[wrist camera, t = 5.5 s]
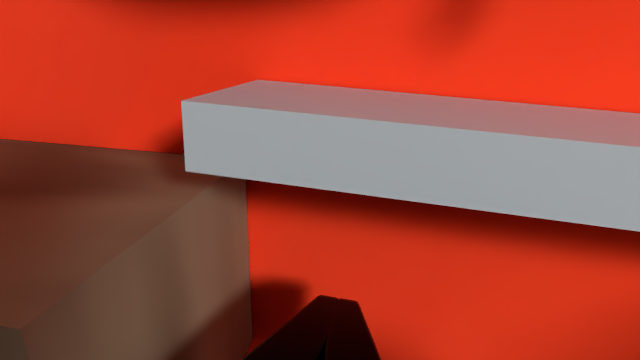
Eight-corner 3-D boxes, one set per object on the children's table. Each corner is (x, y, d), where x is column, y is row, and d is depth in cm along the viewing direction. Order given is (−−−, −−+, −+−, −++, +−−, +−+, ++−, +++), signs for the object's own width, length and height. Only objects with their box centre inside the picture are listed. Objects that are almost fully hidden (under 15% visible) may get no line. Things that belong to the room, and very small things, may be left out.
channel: (996, 145, 6) (1497, 234, 3) (751, 501, 9) (905, 706, 6) (258, 79, 8) (180, 100, 5) (255, 390, 11) (205, 508, 8)
